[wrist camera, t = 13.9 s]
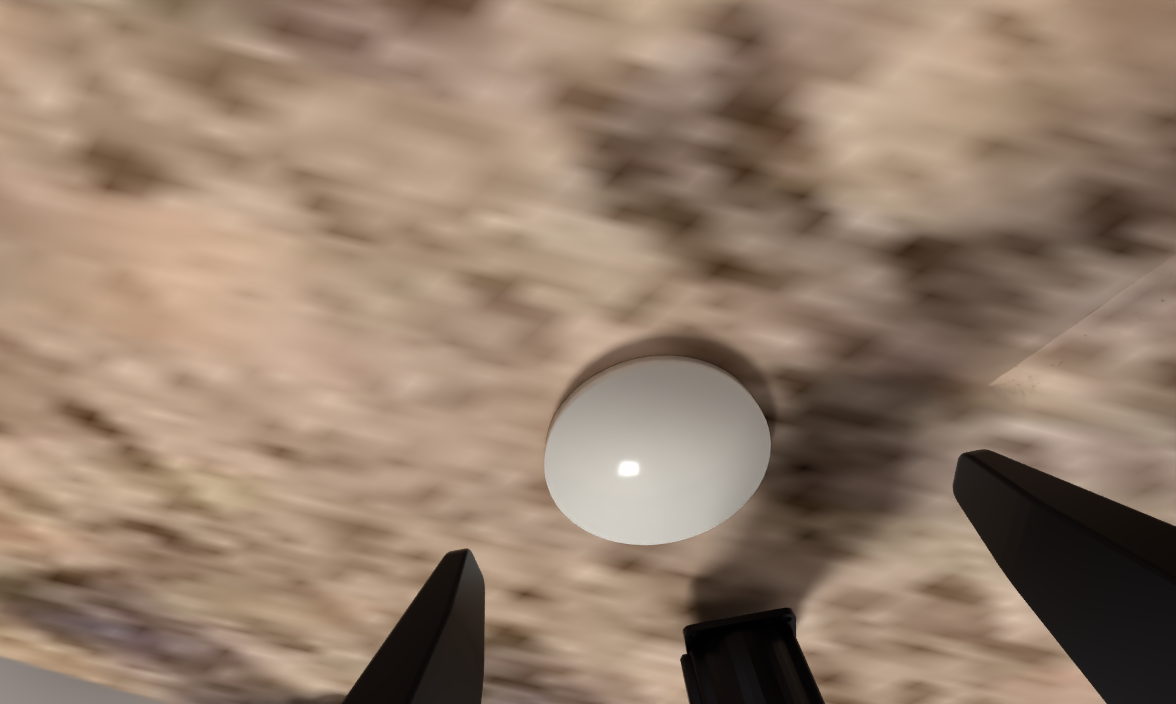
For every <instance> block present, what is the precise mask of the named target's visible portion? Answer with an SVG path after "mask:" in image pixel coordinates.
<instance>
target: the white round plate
mask: <svg viewBox="0 0 1176 704" xmlns="http://www.w3.org/2000/svg"><path fill="white" fill-rule="evenodd" d="M770 450H771V440H770V432H769V428H768V425H767V421H766V419H765V417H764V415H763V413H762V411H761V409H760V407H759V406H758V404H757V403H756V401H755V400H754V398H753V397H752V395H751V394H750V392H749V391H748V390H747V388H746V387H745V386H744V385H743V384H742V383H741V382H740V381H739V380H738V379H737V378H735V377H734V376H732V375H731V374H730V373H728V372H727V371H725V370H723V369H721V368H719V367H717V366H716V365H713V364H711V363H708V362H705V361H702V360H699V359H694V358H690V357H684V356H673V355H660V356H648V357H641V358H636V359H632V360H629V361H625V362H622V363H619V364H617V365H614V366H611V367H609V368H607V369H605V370H603V371H601V372H599V373H597V374H595V375H594V376H592V377H591V378H589V379H588V380H586V381H585V382H584V383H582V384H581V385H580V386H579V387H578V388H577V389H575V390H574V391H573V392H572V393H571V394H570V395H569V396H568V398H567V399H566V400H565V401H564V402H563V403H562V405H561V406H560V408H559V409H558V411H557V412H556V414H555V416H554V418H553V420H552V422H551V424H550V427H549V430H548V434H547V437H546V444H545V461H544V465H545V477H546V482H547V486H548V489H549V491H550V494H551V496H552V498H553V500H554V501H555V503H556V504H557V506H558V507H559V509H560V510H561V511H562V512H563V513H564V514H565V516H567V517H568V518H569V519H570V520H571V521H572V522H573V523H575V524H576V525H578V526H579V527H581V528H582V529H584V530H585V531H587V532H589V533H591V534H593V535H596V536H598V537H601V538H604V539H607V540H611V541H615V542H619V543H625V544H634V545H655V544H664V543H671V542H676V541H680V540H684V539H687V538H690V537H693V536H696V535H699V534H701V533H703V532H706V531H708V530H710V529H712V528H714V527H715V526H717V525H719V524H721V523H722V522H724V521H725V520H727V519H728V518H729V517H731V516H732V515H733V514H735V513H736V512H737V511H738V510H739V509H740V508H742V507H743V505H744V504H745V503H746V502H747V501H748V500H749V499H750V498H751V497H752V495H753V494H754V492H755V491H756V490H757V488H758V487H759V485H760V483H761V481H762V479H763V477H764V475H765V472H766V469H767V467H768V463H769V458H770Z"/></svg>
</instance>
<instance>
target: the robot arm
mask: <svg viewBox="0 0 1176 704" xmlns="http://www.w3.org/2000/svg"><path fill="white" fill-rule="evenodd" d="M953 493H954V496H955V498H956V500H957V502H958V503H959V505H960V506H961V508H962V509H963V511H964V512H965V514H966V516H967V517H968V519H969V520H970V522H971V523H972V525H973V526H974V528H975V529H976V531H977V532H978V534H979V536H980V537H981V539H982V540H983V542H984V543H985V545H986V546H987V548H988V549H989V551H990V552H991V554H992V556H993V557H994V559H995V560H996V562H997V563H998V565H999V566H1000V568H1001V569H1002V571H1003V572H1004V573H1005V575H1006V576H1007V578H1008V579H1009V581H1010V582H1011V583H1012V584H1013V586H1014V587H1015V588H1016V590H1017V591H1018V592H1019V594H1020V595H1021V596H1022V597H1023V599H1024V600H1025V601H1026V602H1027V604H1028V605H1029V606H1030V607H1031V609H1032V610H1033V611H1034V613H1035V614H1036V615H1037V616H1038V618H1039V619H1040V620H1041V621H1042V623H1043V624H1044V625H1045V626H1046V628H1047V629H1048V630H1049V631H1050V633H1051V634H1052V635H1053V636H1054V638H1055V639H1056V640H1057V642H1058V643H1059V644H1060V645H1061V647H1062V648H1063V649H1064V650H1065V652H1066V653H1067V654H1068V655H1069V657H1070V658H1071V659H1072V660H1073V662H1074V663H1075V664H1076V665H1077V667H1078V668H1079V669H1080V670H1081V672H1082V673H1083V674H1084V676H1085V677H1086V678H1087V679H1088V681H1089V682H1090V683H1091V684H1092V686H1093V687H1094V688H1095V689H1096V691H1097V692H1098V693H1099V694H1100V696H1101V697H1102V698H1103V699H1104V701H1105V702H1106V703H1107V704H1176V526H1174V525H1171V524H1169V523H1166V522H1164V521H1161V520H1159V519H1156V518H1154V517H1152V516H1149V515H1147V514H1144V513H1142V512H1139V511H1137V510H1135V509H1132V508H1130V507H1127V506H1125V505H1122V504H1120V503H1117V502H1115V501H1113V500H1110V499H1108V498H1105V497H1103V496H1100V495H1098V494H1095V493H1093V492H1091V491H1088V490H1086V489H1083V488H1081V487H1078V486H1076V485H1074V484H1071V483H1069V482H1066V481H1064V480H1061V479H1059V478H1056V477H1054V476H1052V475H1049V474H1047V473H1044V472H1042V471H1039V470H1037V469H1035V468H1032V467H1030V466H1027V465H1025V464H1022V463H1020V462H1017V461H1015V460H1013V459H1010V458H1008V457H1005V456H1003V455H1000V454H998V453H995V452H993V451H990V450H985V449H982V450H976V451H971V452H966V453H963V454H961V455H960V457H959V458H958V462H957V467H956V472H955V477H954V481H953ZM484 631H485V584H484V579H483V575H482V573H481V571H480V569H479V567H478V564H477V562H476V560H475V558H474V556H473V553H472V552H471V550H469V549H466V548H465V549H460V550H455V551H450V552H448V553H447V554H446V555H445V556H444V557H443V559H442V560H441V561H440V563H439V564H438V566H437V567H436V569H435V570H434V571H433V573H432V574H431V576H430V577H429V579H428V580H427V581H426V583H425V584H424V586H423V587H422V589H421V590H420V591H419V593H418V594H417V596H416V597H415V599H414V600H413V601H412V603H411V604H410V606H409V607H408V609H407V610H406V612H405V613H404V614H403V616H402V617H401V619H400V620H399V622H398V623H397V624H396V626H395V627H394V629H393V630H392V632H391V633H390V634H389V636H388V637H387V639H386V640H385V642H384V643H383V644H382V646H381V647H380V649H379V650H378V652H377V653H376V654H375V656H374V657H373V659H372V660H371V662H370V663H369V665H368V666H367V667H366V669H365V670H364V672H363V673H362V675H361V676H360V677H359V679H358V680H357V682H356V683H355V685H354V686H353V687H352V689H351V690H350V692H349V693H348V695H347V696H346V697H345V699H344V700H343V702H342V703H341V704H481V698H482V690H483V678H484ZM683 635H684V641H685V646H686V652H687V654H683V655H682V657H681V659H680V661H681V666H682V671H683V677H684V682H685V686H686V691H687V696H688V700H689V704H825V702H824V700H823V698H822V696H821V693H820V691H819V689H818V686H817V684H816V682H815V680H814V677H813V675H812V673H811V671H810V668H809V666H808V664H807V661H806V659H805V657H804V655H803V652H802V650H801V648H800V645H799V643H798V641H797V639H796V616H795V614H794V612H793V610H792V609H791V608H781V609H775V610H770V611H764V612H759V613H753V614H747V615H742V616H736V617H731V618H725V619H720V620H714V621H709V622H703V623H698V624H692V625H688V626H686V627H685V628H684V629H683Z"/></svg>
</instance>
